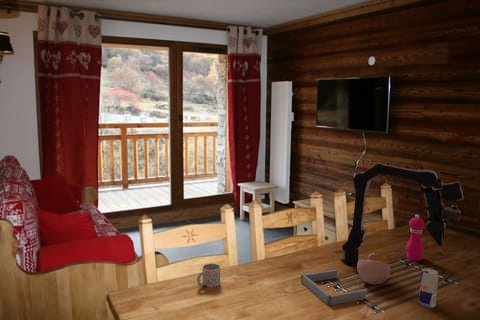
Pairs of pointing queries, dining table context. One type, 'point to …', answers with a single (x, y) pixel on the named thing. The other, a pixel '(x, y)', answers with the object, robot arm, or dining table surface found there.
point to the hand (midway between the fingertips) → (441, 242)
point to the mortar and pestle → (373, 270)
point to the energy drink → (428, 287)
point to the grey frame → (324, 296)
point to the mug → (210, 275)
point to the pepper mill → (415, 239)
